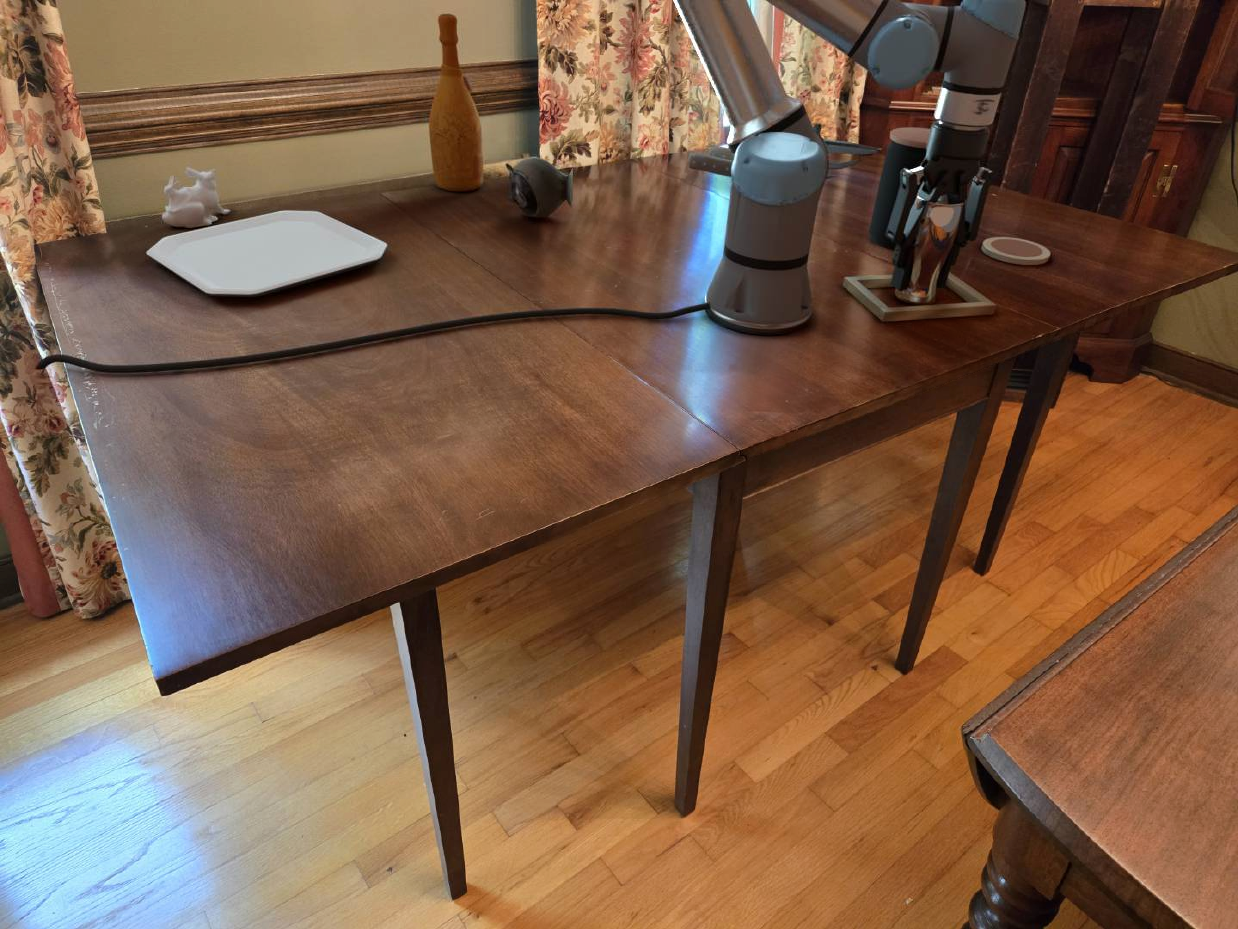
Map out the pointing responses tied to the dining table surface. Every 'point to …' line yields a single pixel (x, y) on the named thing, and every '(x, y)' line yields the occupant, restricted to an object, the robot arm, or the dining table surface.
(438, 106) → the wine bottle
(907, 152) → the coffee jar
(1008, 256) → the trivet
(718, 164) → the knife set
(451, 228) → the dining table surface
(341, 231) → the plate
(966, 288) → the picture frame
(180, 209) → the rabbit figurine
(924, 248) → the beer glass
